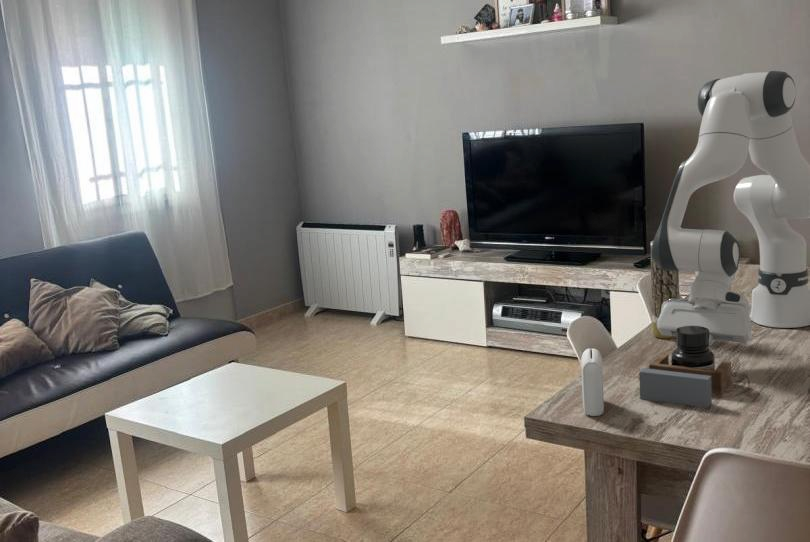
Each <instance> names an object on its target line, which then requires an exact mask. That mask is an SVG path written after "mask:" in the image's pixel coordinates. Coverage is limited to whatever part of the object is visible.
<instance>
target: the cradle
mask: <svg viewBox="0 0 810 542" xmlns="http://www.w3.org/2000/svg"><path fill="white" fill-rule="evenodd" d="M648 366H649V367H648V369H656V370H664V371H673V372H682V373H690V374H699V375H708V376H711V396H722V395H723V394H724V393H725V391H726V390H727V389H728V388H729V386H730V385H731V384H732V360H728V359H727V360H725V359H723V360H722V362H721V363H720V364H718V366H717V367H715V370H710V369H701V368H692V367H683V366H674V365H672V364H670V363H669V354H667V353H666V354H665V353H661V354H660V355H658V356H657V357H656V358H655V359H654V360H653V361H652V362H651V363H650V364H649V365H648Z"/></svg>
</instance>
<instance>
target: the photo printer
mask: <svg viewBox="0 0 810 542" xmlns="http://www.w3.org/2000/svg"><path fill="white" fill-rule="evenodd" d="M580 362H581V363H580V365H581V367H580V368H581V391H582V392H581V393H582V406H583V412H584V414H585V415H587V416H589V415H590V417H598V416H601V415H603V414H604V408H605V399H604V396H605V394H604V375H603V374H604V373H603V357H602V354H601V353H600V351H599V350H598V349H596V348H586V349H585V350H584V351H583V353H582V355H581V361H580Z"/></svg>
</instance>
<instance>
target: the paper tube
mask: <svg viewBox="0 0 810 542" xmlns="http://www.w3.org/2000/svg"><path fill="white" fill-rule="evenodd" d="M653 241H654V240H652V241H650V276H651V281H650V282H651V309H652V310H651V313H652V315H651V316H652V319H651V320H652V335H653V336H654V337H655V338H657V339H666V340H667V339H668V340H669V339H674V338H675V339H676V336H666V335H662V334H661V333H660V332H659V330H658V328H657V322H658V319H659V316H660V314H661V307H662V304H663V302H665V301H667V300H669V299H671V298H674V299H680V272H679V271H680V270H679V271H664V270H663V269H661V268H660V267H659V266H658V265H657V264H656V263H655V262H654V260H653V259H652V254H651V253H652V252H651V250H652V244H653Z"/></svg>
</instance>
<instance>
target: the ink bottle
mask: <svg viewBox="0 0 810 542" xmlns="http://www.w3.org/2000/svg"><path fill="white" fill-rule="evenodd" d="M675 343H676V349H675V350H673V351H672V352H671V365H674V366H683V367H692V368H701V369H710V370H716V364H715V363H716V361H715V360H716V359H715V357H716V356H715V354H714V352H713V351H712V350H710V347H709V329H707V328H705V327H701V326H683V327H679V328H677V329H676V338H675ZM708 347H709V348H708Z"/></svg>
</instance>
